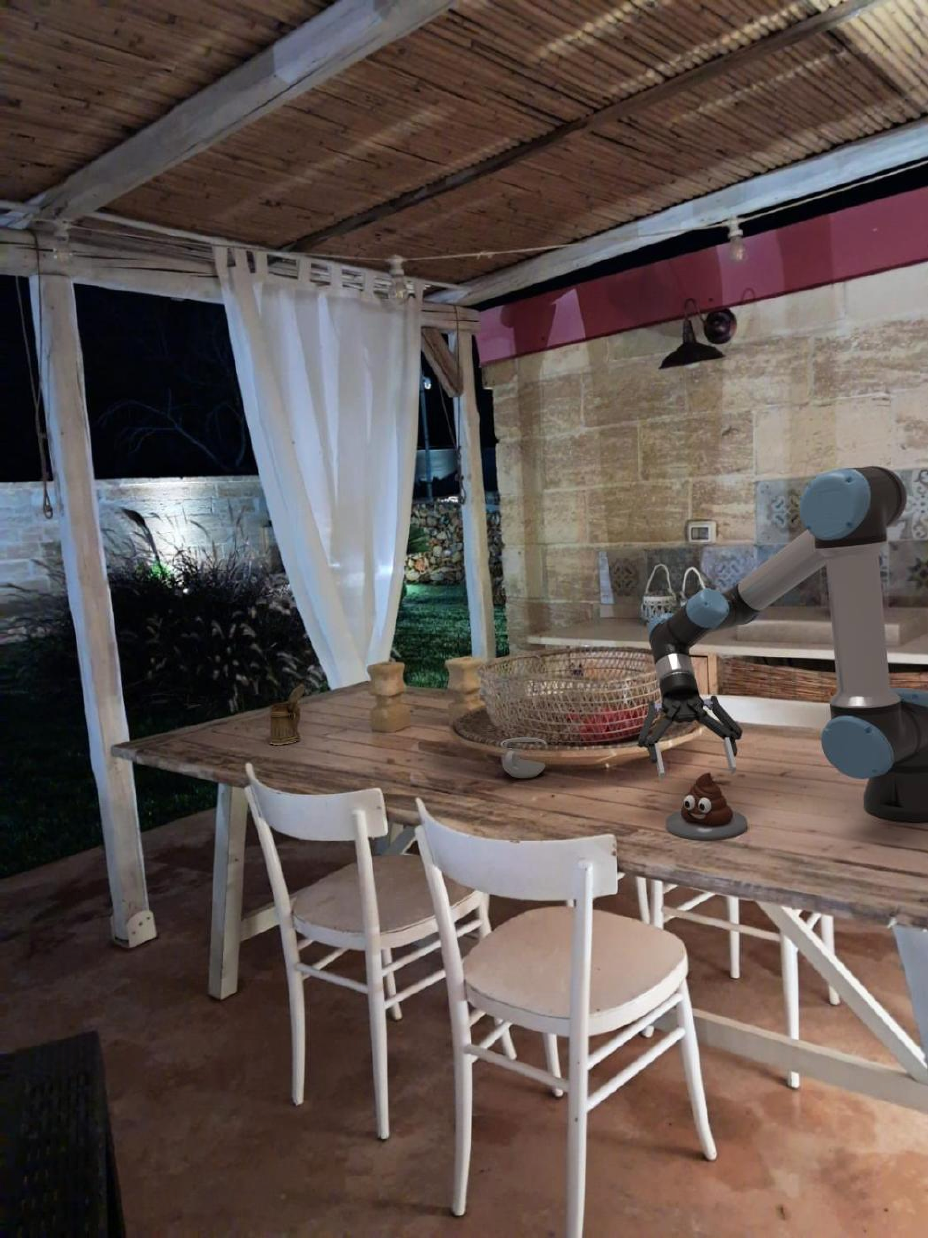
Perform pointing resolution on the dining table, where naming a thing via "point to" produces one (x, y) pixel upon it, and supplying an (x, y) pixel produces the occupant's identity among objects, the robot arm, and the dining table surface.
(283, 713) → the wooden mug
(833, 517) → the robot arm
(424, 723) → the dining table surface
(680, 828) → the charcoal plate
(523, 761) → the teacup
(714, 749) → the dining table surface
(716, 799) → the poop emoji
